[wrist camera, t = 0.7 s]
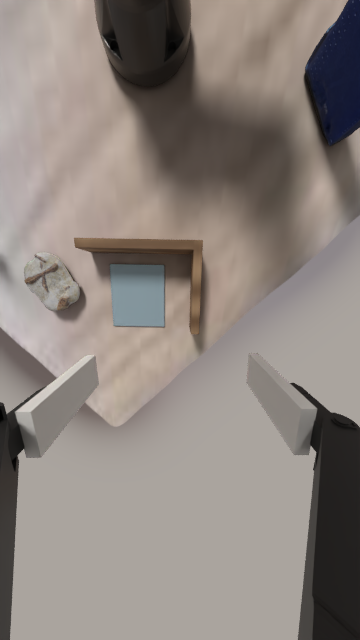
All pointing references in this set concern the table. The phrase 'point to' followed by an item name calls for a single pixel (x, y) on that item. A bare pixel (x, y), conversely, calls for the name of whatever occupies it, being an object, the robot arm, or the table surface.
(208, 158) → the table surface
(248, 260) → the table surface
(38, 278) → the stone
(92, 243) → the corner walls
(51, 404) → the robot arm
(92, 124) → the table surface
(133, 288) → the mat
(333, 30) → the book
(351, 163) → the table surface
